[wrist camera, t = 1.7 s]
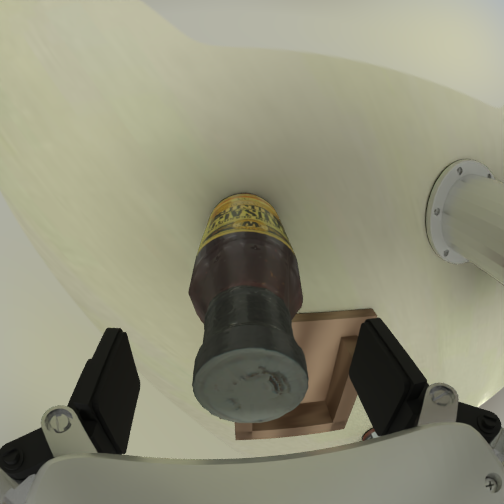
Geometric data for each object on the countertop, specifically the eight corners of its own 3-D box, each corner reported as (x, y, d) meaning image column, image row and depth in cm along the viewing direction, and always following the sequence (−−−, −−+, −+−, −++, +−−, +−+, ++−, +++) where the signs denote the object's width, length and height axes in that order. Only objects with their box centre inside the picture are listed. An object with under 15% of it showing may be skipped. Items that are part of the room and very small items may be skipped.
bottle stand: (372, 308, 33) (392, 336, 28) (345, 400, 39) (357, 428, 33) (212, 316, 31) (210, 349, 26) (219, 410, 37) (219, 442, 32)
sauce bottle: (281, 193, 27) (383, 319, 9) (271, 257, 29) (331, 435, 11) (208, 186, 26) (164, 309, 8) (203, 252, 29) (174, 436, 10)
